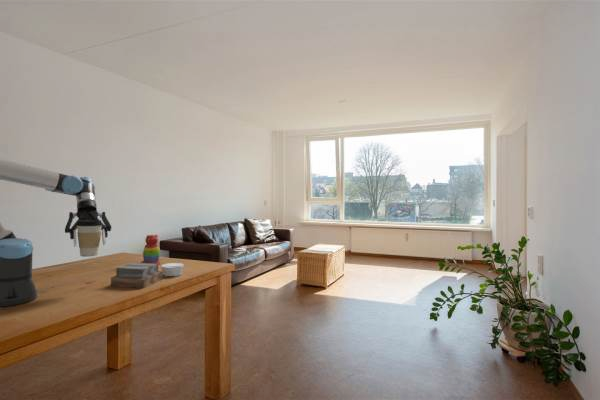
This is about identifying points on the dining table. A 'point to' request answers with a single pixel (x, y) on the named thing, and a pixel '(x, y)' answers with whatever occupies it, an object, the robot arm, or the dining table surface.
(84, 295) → the dining table surface
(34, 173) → the robot arm
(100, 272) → the dining table surface
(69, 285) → the dining table surface
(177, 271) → the ramekin
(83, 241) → the coffee cup
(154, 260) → the stacking bear
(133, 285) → the grey stacked platform
